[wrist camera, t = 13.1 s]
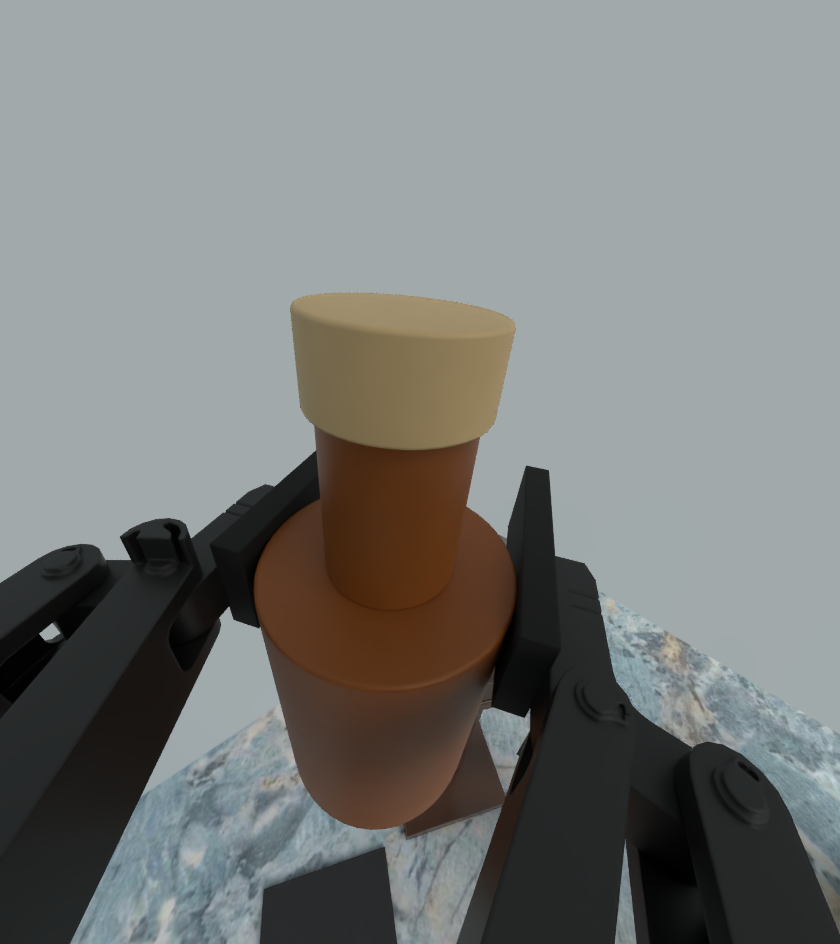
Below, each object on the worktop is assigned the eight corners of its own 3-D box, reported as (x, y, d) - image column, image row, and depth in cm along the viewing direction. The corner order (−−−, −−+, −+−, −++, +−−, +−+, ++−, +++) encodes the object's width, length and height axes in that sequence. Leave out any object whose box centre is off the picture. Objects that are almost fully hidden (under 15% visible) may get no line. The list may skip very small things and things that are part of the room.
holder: (505, 805, 35) (594, 669, 21) (406, 840, 32) (435, 710, 19) (468, 698, 43) (515, 550, 29) (386, 719, 40) (397, 567, 27)
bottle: (491, 795, 11) (737, 368, 4) (288, 862, 9) (50, 358, 2) (436, 625, 16) (498, 294, 9) (296, 650, 14) (228, 275, 7)
